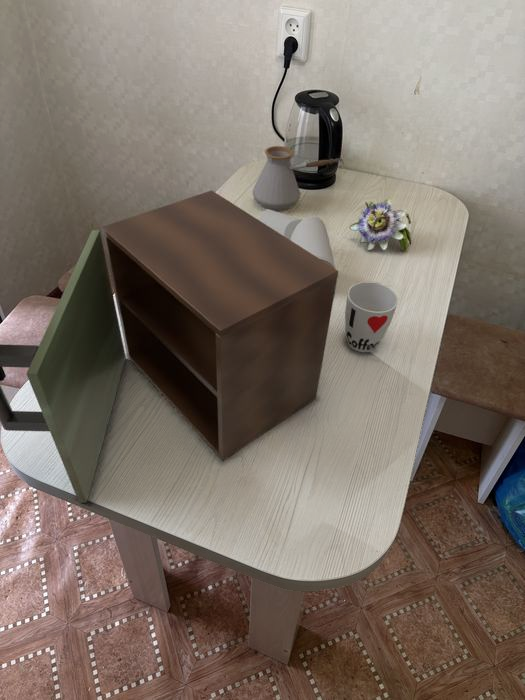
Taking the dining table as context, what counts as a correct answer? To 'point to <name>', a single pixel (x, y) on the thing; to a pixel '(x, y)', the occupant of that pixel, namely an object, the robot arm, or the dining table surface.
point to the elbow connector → (301, 233)
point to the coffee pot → (281, 179)
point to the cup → (368, 314)
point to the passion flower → (382, 225)
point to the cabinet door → (73, 369)
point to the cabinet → (221, 315)
